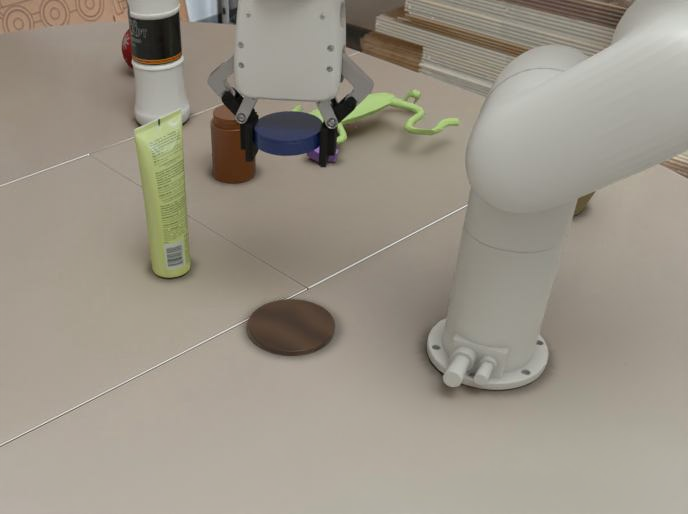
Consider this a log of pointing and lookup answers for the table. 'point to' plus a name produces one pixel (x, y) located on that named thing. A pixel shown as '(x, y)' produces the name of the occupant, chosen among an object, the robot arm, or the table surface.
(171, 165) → the tube
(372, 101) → the figurine
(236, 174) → the jam jar
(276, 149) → the jar lid
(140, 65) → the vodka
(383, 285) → the table surface
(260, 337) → the coaster
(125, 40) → the christmas ornament
